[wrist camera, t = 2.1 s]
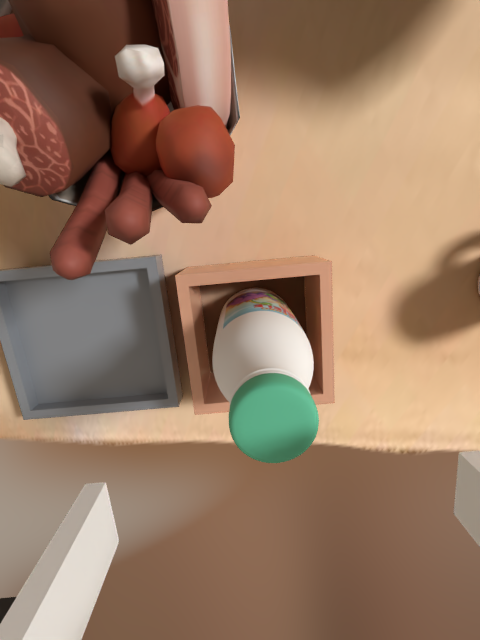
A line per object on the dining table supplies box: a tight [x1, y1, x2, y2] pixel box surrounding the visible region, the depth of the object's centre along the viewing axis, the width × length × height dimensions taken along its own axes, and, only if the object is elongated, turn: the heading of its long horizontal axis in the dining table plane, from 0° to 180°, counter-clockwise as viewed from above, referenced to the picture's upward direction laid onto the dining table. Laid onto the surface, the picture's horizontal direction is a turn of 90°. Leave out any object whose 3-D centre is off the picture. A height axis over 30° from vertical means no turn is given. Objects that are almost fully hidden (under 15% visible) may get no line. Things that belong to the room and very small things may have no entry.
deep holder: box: [175, 255, 334, 415], centre depth 32 cm, size 13×13×7 cm
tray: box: [0, 255, 183, 420], centre depth 35 cm, size 16×17×2 cm
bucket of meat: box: [0, 0, 240, 280], centre depth 21 cm, size 20×16×20 cm
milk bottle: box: [212, 288, 319, 463], centre depth 26 cm, size 8×8×20 cm
